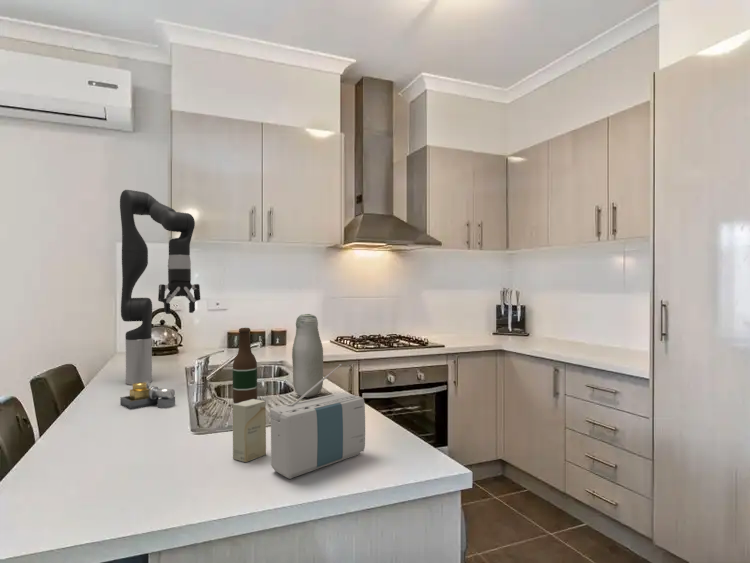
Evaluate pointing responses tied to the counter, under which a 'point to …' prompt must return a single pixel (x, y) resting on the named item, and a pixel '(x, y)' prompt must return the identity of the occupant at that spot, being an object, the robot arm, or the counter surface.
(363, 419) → the stereo radio cassette player
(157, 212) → the robot arm
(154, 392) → the shaft right
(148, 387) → the shaft left
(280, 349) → the counter surface
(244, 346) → the beer bottle
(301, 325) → the grey bottle
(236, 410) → the skincare box
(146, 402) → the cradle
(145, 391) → the gold square-based knob
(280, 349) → the counter surface
